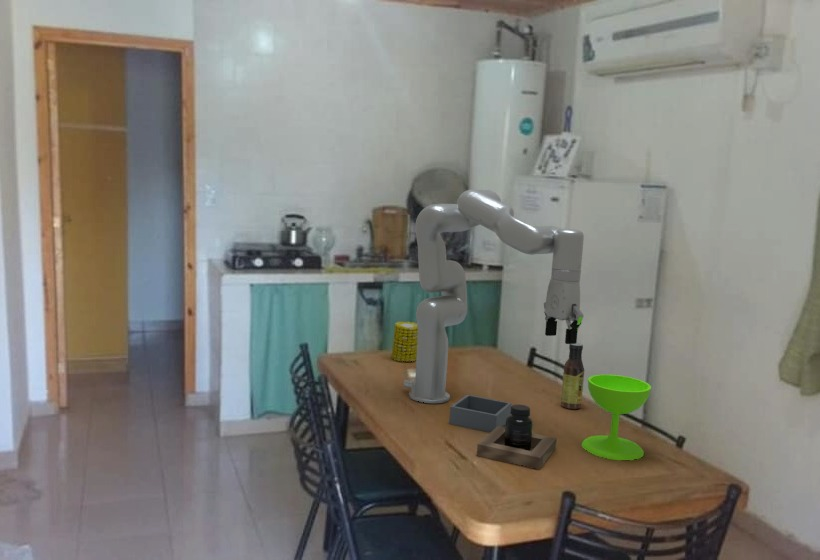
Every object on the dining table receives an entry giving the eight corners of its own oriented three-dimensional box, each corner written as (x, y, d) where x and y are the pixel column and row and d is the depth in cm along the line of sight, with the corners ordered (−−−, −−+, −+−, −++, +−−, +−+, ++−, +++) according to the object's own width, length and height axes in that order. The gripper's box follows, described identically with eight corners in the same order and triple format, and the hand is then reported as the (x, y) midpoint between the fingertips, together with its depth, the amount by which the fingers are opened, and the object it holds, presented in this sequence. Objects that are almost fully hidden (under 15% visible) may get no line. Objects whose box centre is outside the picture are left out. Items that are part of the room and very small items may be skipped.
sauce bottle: (581, 411, 229) (587, 347, 226) (560, 408, 230) (566, 345, 227) (580, 404, 235) (586, 343, 233) (560, 402, 237) (566, 341, 234)
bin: (449, 423, 210) (450, 406, 210) (466, 410, 223) (467, 394, 222) (495, 433, 205) (496, 415, 204) (510, 419, 217) (511, 403, 216)
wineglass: (647, 445, 203) (654, 381, 200) (639, 465, 188) (647, 396, 185) (587, 434, 209) (594, 371, 206) (575, 452, 194) (582, 385, 192)
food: (410, 360, 283) (418, 368, 274) (381, 353, 280) (388, 362, 270) (422, 322, 282) (430, 329, 272) (393, 315, 278) (400, 322, 268)
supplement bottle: (501, 447, 195) (504, 402, 193) (526, 447, 195) (530, 403, 194) (506, 457, 188) (510, 411, 186) (533, 457, 189) (537, 411, 187)
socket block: (476, 455, 188) (477, 444, 187) (496, 436, 202) (497, 426, 202) (539, 469, 181) (540, 457, 181) (555, 449, 196) (556, 438, 195)
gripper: (536, 271, 205) (531, 332, 207) (572, 281, 189) (566, 347, 191) (559, 271, 207) (554, 332, 210) (597, 280, 191) (591, 346, 194)
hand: (560, 339), depth 200 cm, fingers open, 9 cm apart
